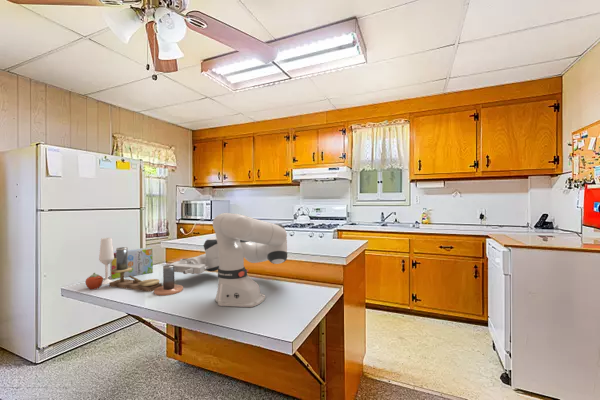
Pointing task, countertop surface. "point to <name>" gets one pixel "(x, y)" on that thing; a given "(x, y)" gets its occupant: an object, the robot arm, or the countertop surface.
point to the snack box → (135, 262)
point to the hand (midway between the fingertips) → (176, 271)
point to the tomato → (94, 281)
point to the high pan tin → (122, 258)
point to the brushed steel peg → (168, 277)
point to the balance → (134, 282)
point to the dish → (168, 292)
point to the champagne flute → (106, 256)
